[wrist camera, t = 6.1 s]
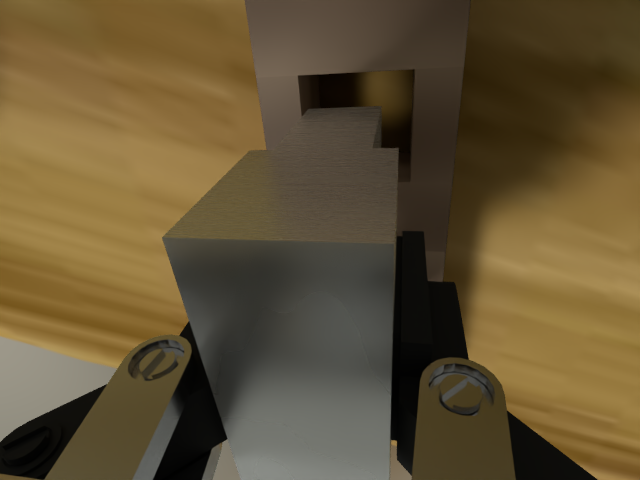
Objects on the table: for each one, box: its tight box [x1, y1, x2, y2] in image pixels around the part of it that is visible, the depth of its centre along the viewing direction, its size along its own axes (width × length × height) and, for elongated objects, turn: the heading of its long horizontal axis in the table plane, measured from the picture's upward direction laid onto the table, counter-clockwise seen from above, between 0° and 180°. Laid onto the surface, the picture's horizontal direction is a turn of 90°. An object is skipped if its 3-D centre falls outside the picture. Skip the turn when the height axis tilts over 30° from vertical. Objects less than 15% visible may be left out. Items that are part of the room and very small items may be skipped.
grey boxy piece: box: [162, 106, 399, 480], centre depth 10 cm, size 8×3×7 cm, turn 5°
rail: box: [245, 0, 471, 282], centre depth 15 cm, size 20×6×3 cm, turn 5°
